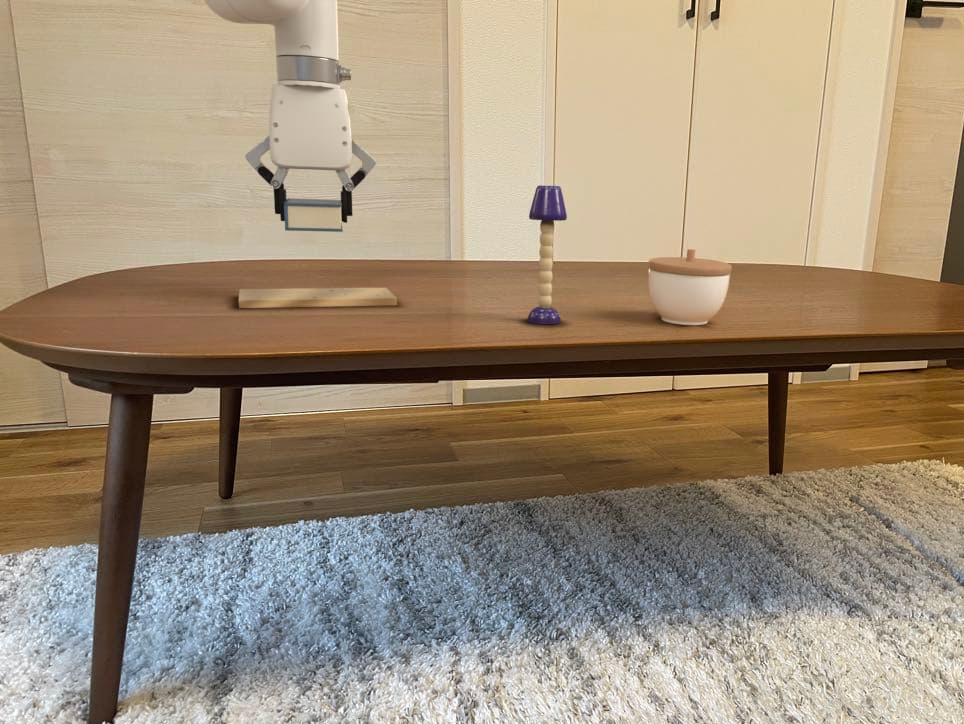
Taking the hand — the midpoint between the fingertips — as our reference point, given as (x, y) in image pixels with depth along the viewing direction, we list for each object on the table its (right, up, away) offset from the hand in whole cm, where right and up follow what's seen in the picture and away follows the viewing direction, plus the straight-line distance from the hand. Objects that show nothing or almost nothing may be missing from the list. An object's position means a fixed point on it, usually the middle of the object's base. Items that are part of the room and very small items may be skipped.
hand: (314, 220), depth 102 cm
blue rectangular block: (0, -1, 0) cm, 1 cm away
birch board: (-1, -10, +3) cm, 11 cm away
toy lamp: (+30, -14, -3) cm, 34 cm away
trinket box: (+49, -13, +1) cm, 51 cm away
